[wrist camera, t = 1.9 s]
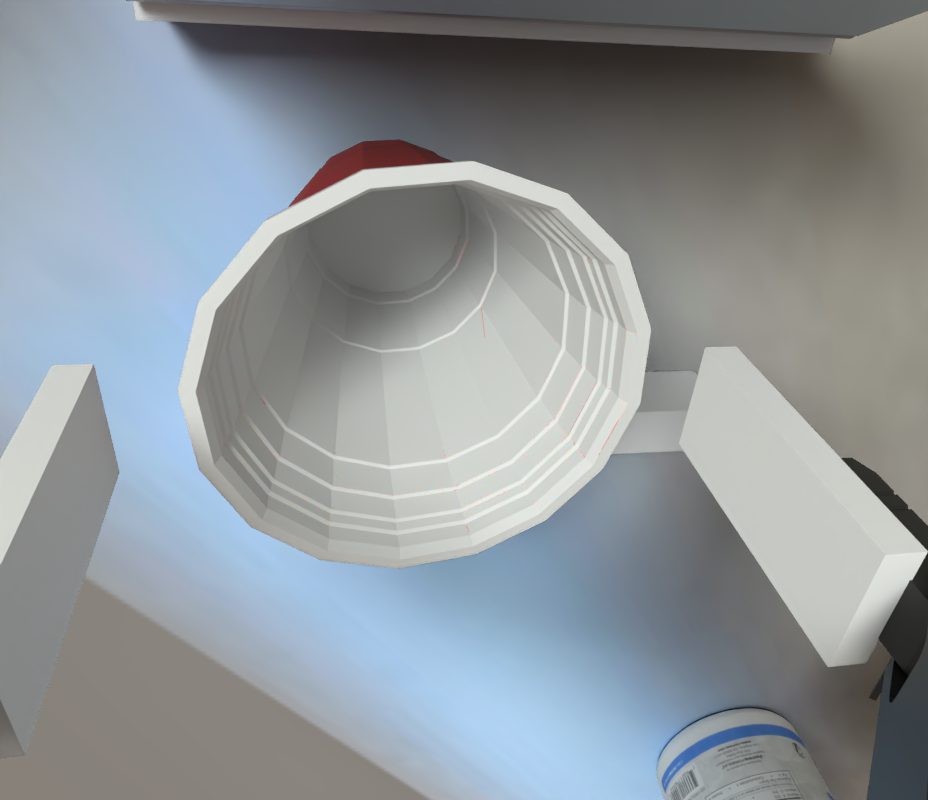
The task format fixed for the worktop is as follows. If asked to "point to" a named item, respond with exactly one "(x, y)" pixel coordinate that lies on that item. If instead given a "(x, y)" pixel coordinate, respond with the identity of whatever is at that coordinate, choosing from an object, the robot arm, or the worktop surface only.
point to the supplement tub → (739, 760)
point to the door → (637, 13)
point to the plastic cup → (413, 360)
